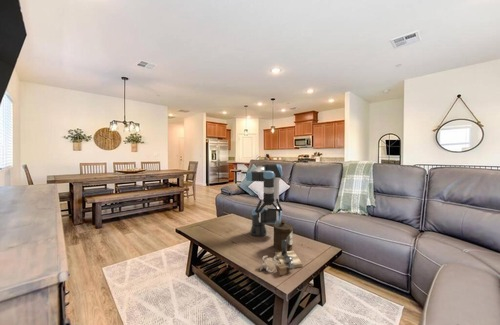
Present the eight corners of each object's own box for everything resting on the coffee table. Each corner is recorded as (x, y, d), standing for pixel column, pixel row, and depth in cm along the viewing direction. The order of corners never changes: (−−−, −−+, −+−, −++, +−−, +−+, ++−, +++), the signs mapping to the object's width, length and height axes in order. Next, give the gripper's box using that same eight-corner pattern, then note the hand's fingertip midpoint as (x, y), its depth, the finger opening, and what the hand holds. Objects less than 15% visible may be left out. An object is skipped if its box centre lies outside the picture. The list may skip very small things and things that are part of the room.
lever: (295, 268, 138) (295, 251, 137) (288, 268, 137) (288, 252, 136) (286, 253, 157) (286, 238, 156) (280, 253, 157) (280, 238, 156)
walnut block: (276, 271, 139) (276, 264, 138) (282, 269, 140) (282, 263, 140) (280, 275, 134) (280, 268, 134) (286, 273, 136) (286, 266, 136)
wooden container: (292, 253, 162) (292, 224, 160) (272, 251, 165) (272, 223, 163) (292, 244, 176) (292, 218, 174) (274, 242, 179) (274, 216, 177)
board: (275, 254, 159) (275, 251, 159) (293, 253, 161) (293, 250, 161) (283, 270, 140) (283, 266, 140) (303, 268, 142) (303, 264, 142)
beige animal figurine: (275, 266, 150) (271, 251, 152) (285, 266, 144) (281, 251, 146) (260, 275, 139) (256, 259, 141) (271, 276, 133) (267, 259, 134)
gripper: (252, 194, 149) (253, 224, 151) (286, 192, 154) (286, 221, 156) (250, 192, 157) (250, 220, 159) (283, 190, 161) (283, 217, 164)
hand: (268, 220), depth 158 cm, fingers open, 13 cm apart
